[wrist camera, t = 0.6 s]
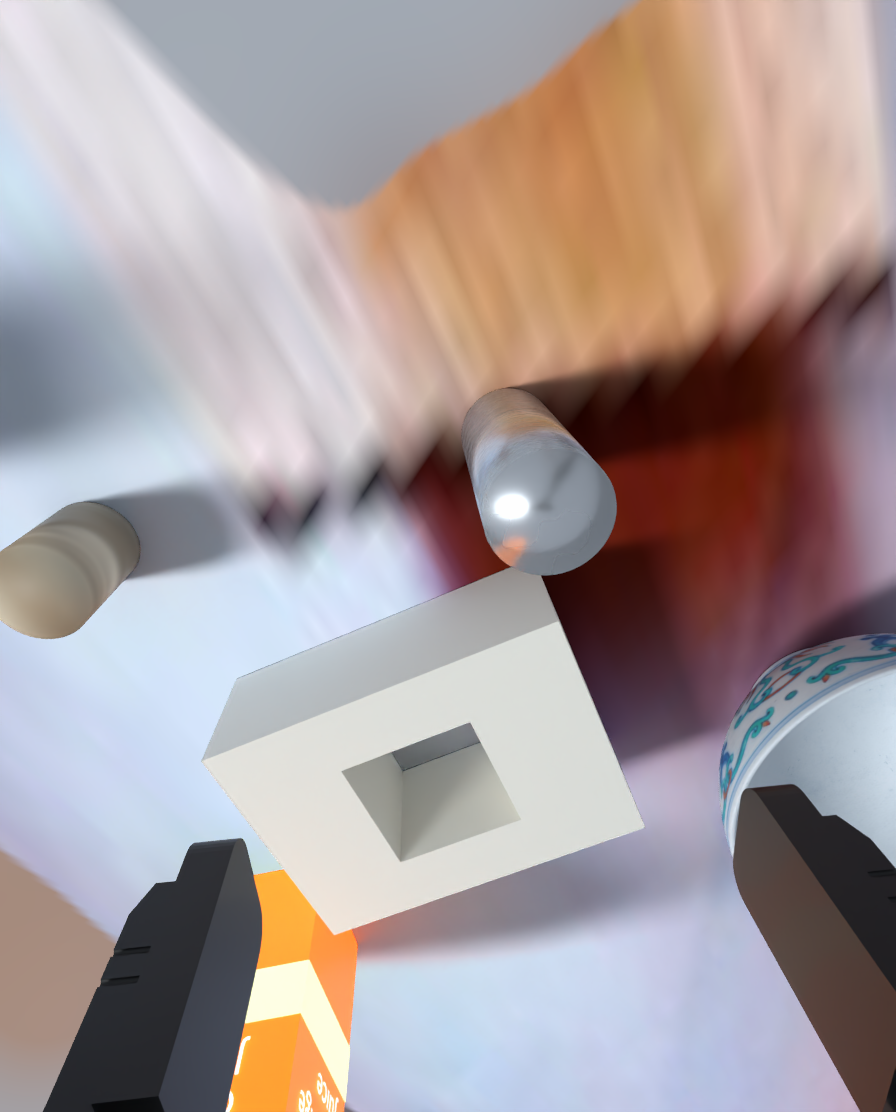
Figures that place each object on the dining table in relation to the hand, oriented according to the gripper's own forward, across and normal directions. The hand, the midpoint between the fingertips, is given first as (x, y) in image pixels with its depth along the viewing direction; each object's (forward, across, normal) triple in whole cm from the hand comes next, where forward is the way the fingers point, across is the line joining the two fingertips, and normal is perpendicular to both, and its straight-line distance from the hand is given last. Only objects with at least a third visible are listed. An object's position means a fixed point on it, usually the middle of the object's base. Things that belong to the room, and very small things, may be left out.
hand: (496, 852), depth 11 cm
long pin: (+20, -3, -2) cm, 21 cm away
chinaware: (+21, -19, +13) cm, 31 cm away
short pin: (+21, +16, +1) cm, 26 cm away
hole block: (+21, +1, +12) cm, 24 cm away
